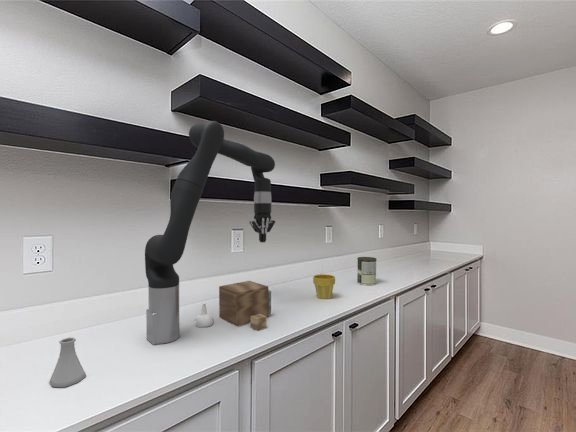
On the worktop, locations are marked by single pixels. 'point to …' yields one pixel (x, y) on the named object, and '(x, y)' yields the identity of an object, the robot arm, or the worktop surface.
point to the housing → (242, 302)
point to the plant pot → (324, 285)
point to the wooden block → (258, 322)
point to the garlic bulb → (204, 318)
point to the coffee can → (366, 271)
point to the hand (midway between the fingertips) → (262, 242)
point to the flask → (67, 365)
